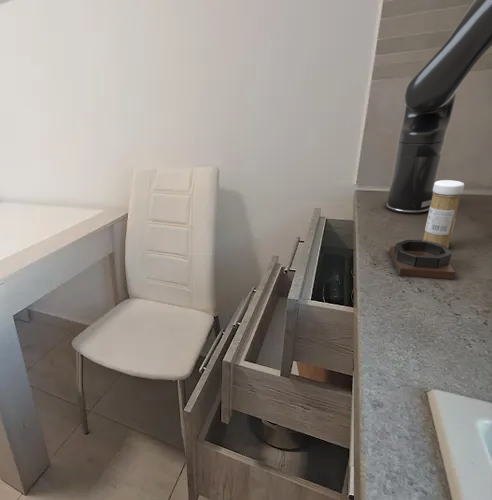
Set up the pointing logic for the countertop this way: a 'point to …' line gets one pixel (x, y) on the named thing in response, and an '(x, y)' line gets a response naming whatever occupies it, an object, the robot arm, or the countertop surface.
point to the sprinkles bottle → (443, 211)
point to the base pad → (422, 259)
